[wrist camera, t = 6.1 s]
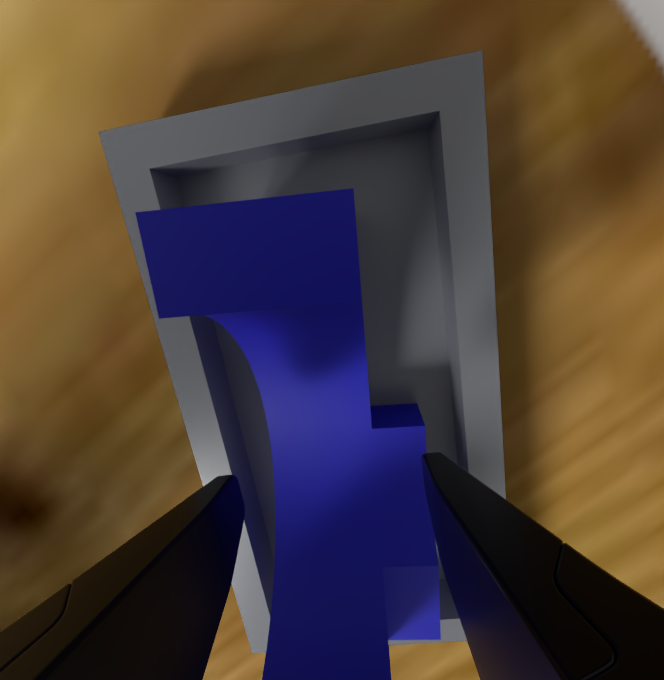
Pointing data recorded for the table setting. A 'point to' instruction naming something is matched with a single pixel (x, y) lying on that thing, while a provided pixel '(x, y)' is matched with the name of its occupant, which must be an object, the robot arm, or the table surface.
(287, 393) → the blue curved cradle
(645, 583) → the table surface
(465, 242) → the tray
